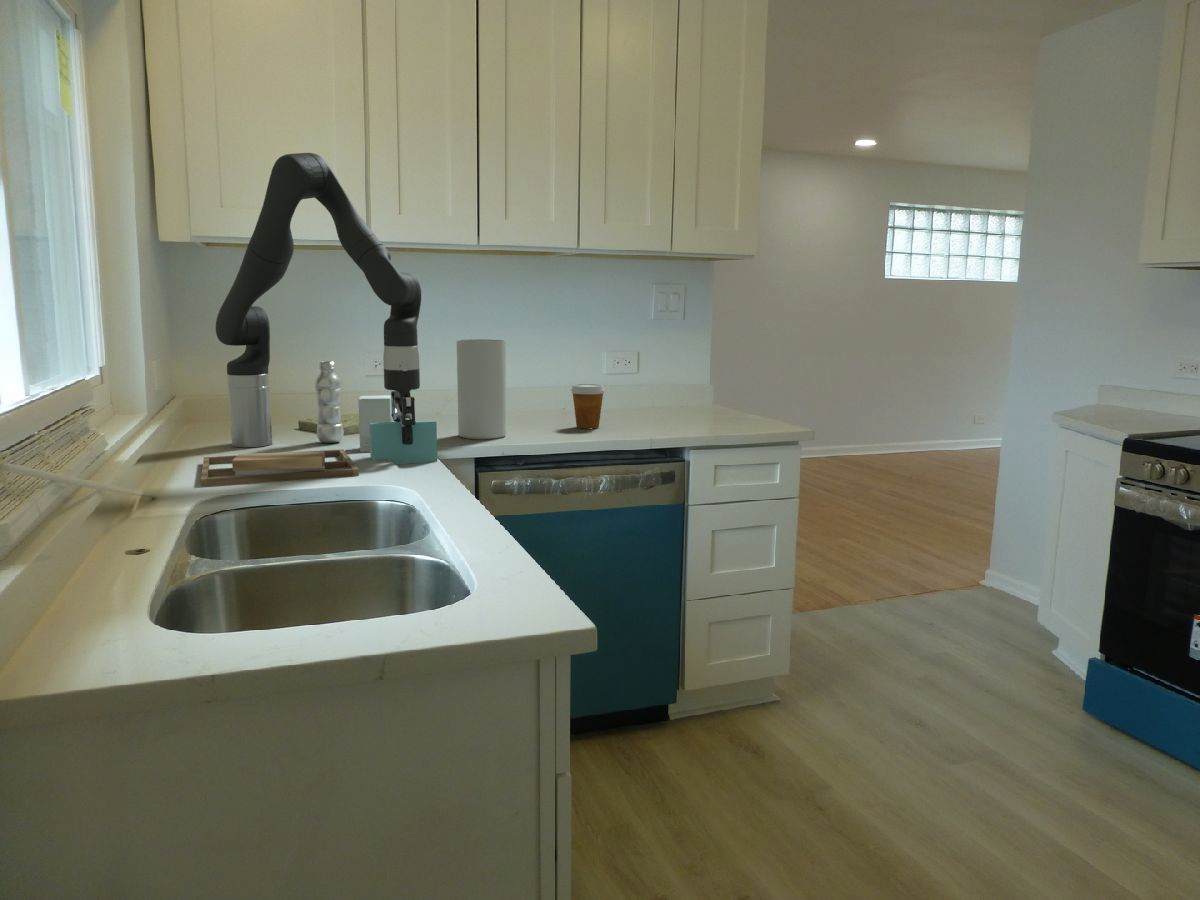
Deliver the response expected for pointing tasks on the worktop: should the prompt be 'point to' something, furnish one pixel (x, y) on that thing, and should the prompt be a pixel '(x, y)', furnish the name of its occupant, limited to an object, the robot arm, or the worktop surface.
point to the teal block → (390, 444)
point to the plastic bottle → (328, 404)
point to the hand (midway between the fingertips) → (403, 441)
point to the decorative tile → (348, 422)
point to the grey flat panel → (275, 471)
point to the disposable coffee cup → (587, 404)
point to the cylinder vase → (481, 388)
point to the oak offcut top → (278, 461)
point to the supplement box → (372, 416)
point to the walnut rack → (276, 477)
